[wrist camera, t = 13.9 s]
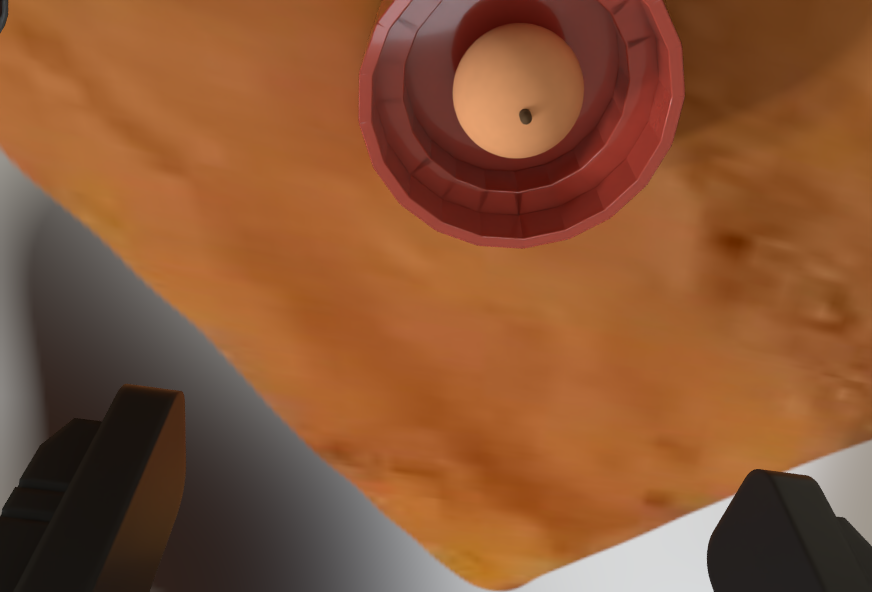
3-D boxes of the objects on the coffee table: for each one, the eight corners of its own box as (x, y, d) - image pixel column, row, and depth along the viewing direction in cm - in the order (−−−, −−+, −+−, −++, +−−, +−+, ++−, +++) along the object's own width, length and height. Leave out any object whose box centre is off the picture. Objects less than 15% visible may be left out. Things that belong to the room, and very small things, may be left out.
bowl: (312, 86, 38) (295, 127, 34) (503, -165, 32) (513, -155, 28) (515, 242, 43) (524, 296, 39) (714, 52, 37) (752, 90, 33)
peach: (425, 80, 37) (425, 129, 32) (508, -19, 35) (524, 15, 29) (514, 153, 40) (528, 211, 34) (598, 65, 37) (629, 111, 31)
